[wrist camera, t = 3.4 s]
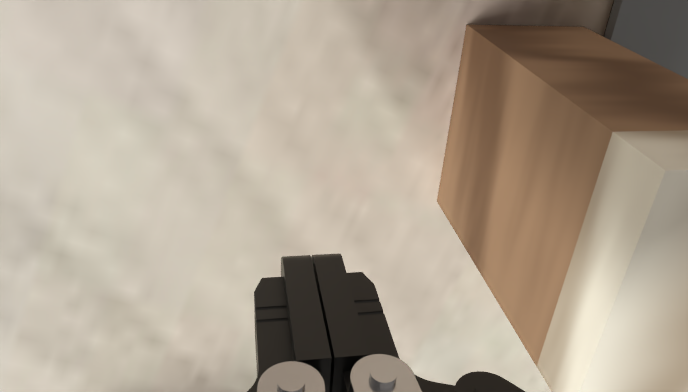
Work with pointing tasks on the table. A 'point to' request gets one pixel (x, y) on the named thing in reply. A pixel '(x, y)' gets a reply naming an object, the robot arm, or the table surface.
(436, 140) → the table surface
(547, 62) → the brown and cream block
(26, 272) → the table surface
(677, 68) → the mat
